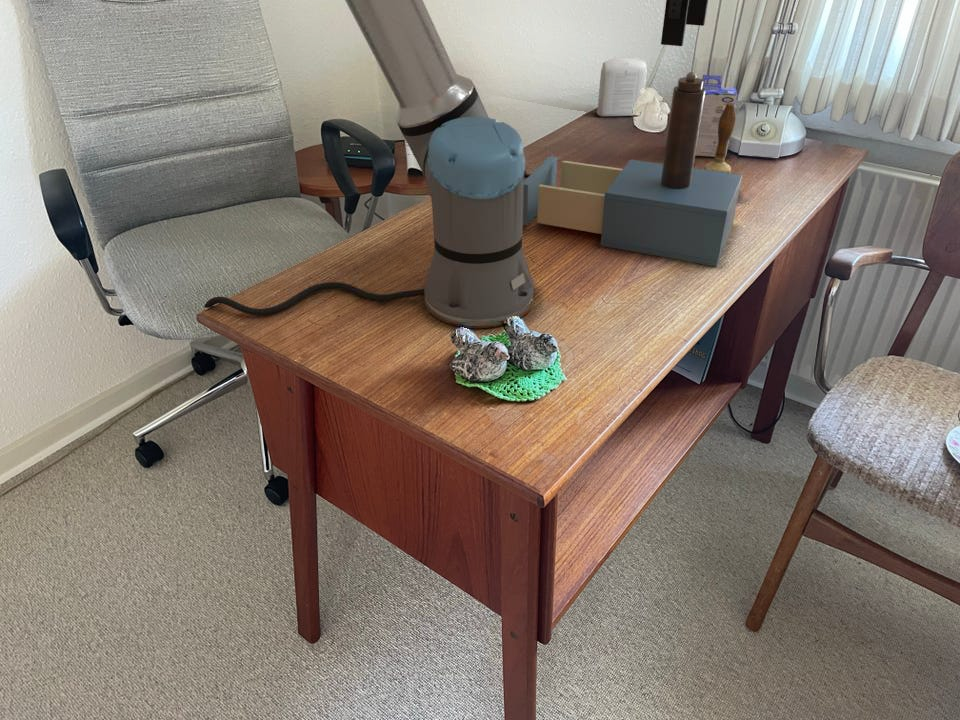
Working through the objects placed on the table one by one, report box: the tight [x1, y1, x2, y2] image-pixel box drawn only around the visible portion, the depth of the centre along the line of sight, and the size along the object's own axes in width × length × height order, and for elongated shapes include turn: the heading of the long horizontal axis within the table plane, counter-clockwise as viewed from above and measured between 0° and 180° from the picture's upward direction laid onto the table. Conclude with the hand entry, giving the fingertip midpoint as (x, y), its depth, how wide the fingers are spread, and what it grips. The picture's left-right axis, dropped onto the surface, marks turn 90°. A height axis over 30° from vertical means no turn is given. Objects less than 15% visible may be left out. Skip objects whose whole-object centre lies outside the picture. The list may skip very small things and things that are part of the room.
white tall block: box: [596, 56, 647, 117], centre depth 163 cm, size 10×4×12 cm, turn 93°
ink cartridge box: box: [695, 74, 738, 158], centre depth 142 cm, size 10×6×14 cm, turn 78°
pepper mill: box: [661, 71, 706, 189], centre depth 106 cm, size 4×4×16 cm
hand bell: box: [703, 103, 737, 173], centre depth 124 cm, size 8×8×16 cm
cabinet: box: [599, 159, 743, 267], centre depth 113 cm, size 18×15×9 cm
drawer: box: [523, 155, 624, 235], centre depth 119 cm, size 21×14×7 cm, turn 66°
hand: (683, 34), depth 99 cm, fingers open, 13 cm apart
